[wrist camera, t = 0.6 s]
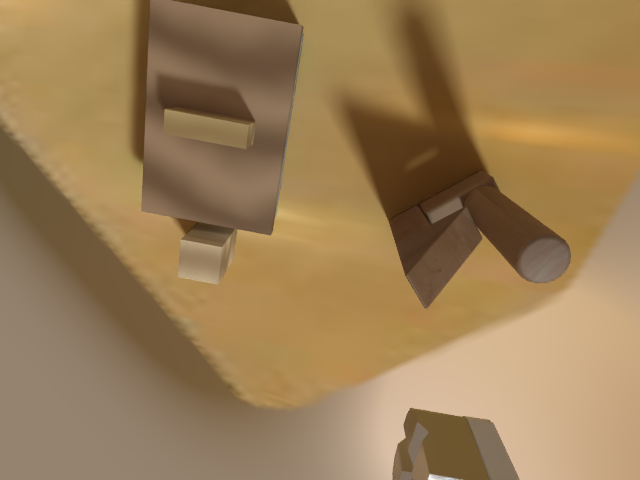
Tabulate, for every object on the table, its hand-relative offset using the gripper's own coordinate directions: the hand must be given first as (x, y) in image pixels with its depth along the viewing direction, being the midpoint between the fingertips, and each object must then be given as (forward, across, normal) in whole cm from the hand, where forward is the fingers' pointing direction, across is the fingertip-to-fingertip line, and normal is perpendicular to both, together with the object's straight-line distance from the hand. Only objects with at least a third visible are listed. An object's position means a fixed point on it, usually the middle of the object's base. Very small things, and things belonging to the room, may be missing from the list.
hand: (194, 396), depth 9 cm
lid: (+35, +9, -1) cm, 36 cm away
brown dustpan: (+39, -14, +4) cm, 42 cm away
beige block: (+39, +9, +12) cm, 42 cm away
